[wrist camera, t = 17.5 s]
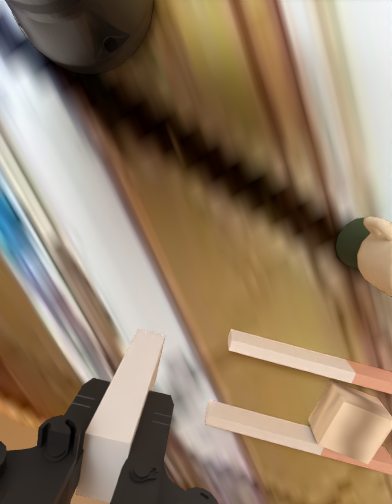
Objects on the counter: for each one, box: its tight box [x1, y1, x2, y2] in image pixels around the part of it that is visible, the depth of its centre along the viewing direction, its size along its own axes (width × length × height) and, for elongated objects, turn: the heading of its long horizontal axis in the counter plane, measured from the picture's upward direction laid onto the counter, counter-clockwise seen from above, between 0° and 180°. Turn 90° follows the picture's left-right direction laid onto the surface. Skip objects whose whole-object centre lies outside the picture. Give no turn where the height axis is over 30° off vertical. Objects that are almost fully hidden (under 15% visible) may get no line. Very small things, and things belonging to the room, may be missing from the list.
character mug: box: [336, 216, 392, 297], centre depth 30 cm, size 11×7×13 cm, turn 45°
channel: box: [205, 329, 392, 475], centre depth 40 cm, size 26×13×3 cm, turn 75°
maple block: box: [308, 380, 392, 464], centre depth 39 cm, size 7×7×4 cm
